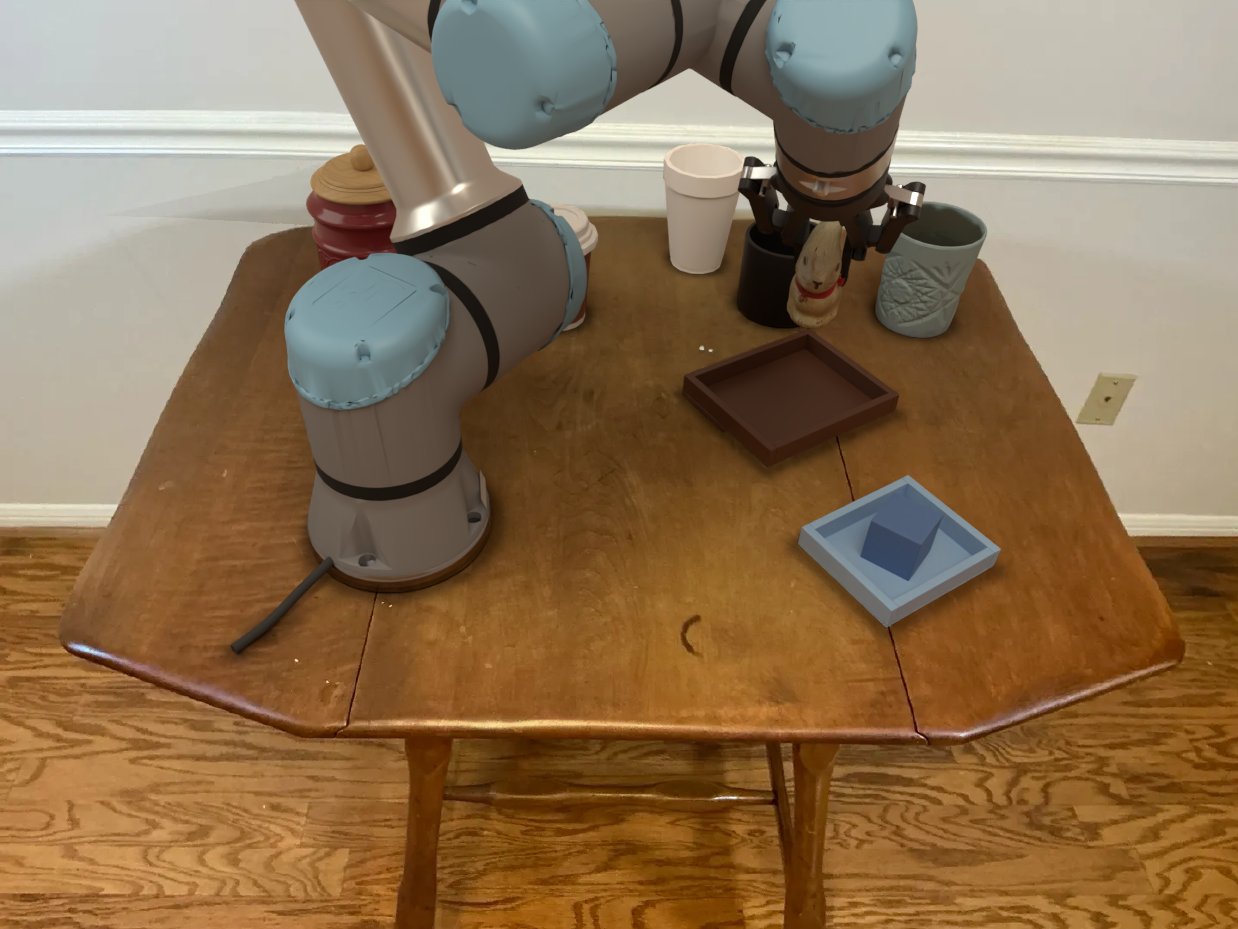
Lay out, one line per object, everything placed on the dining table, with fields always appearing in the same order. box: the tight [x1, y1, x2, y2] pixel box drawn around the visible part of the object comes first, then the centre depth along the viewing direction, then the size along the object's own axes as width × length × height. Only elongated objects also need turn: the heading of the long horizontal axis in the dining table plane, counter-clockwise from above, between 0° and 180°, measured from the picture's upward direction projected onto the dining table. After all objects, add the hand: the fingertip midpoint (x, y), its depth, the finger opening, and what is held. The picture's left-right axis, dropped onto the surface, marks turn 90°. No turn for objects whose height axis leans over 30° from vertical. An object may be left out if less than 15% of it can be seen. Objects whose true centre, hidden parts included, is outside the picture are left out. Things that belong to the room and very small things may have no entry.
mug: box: [736, 220, 849, 328], centre depth 107 cm, size 9×12×9 cm
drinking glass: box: [874, 200, 988, 339], centre depth 105 cm, size 10×10×12 cm
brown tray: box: [681, 328, 900, 468], centre depth 95 cm, size 17×14×3 cm
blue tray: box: [797, 474, 1002, 628], centre depth 80 cm, size 13×11×3 cm
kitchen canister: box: [305, 143, 397, 272], centre depth 103 cm, size 13×13×18 cm
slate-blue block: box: [860, 492, 943, 581], centre depth 79 cm, size 4×4×4 cm
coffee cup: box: [547, 202, 599, 332], centre depth 103 cm, size 9×9×12 cm
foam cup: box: [662, 142, 745, 275], centre depth 113 cm, size 10×9×13 cm
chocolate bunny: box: [787, 221, 845, 330], centre depth 80 cm, size 6×8×10 cm
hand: (824, 255), depth 84 cm, fingers closed on chocolate bunny, 3 cm apart
